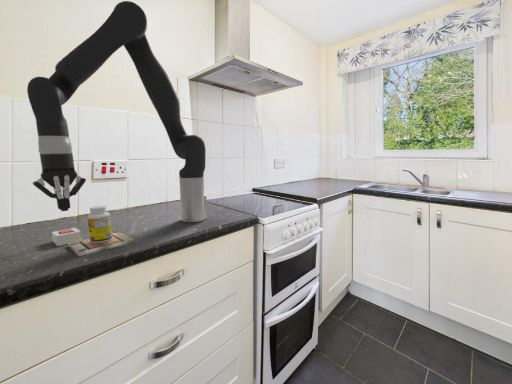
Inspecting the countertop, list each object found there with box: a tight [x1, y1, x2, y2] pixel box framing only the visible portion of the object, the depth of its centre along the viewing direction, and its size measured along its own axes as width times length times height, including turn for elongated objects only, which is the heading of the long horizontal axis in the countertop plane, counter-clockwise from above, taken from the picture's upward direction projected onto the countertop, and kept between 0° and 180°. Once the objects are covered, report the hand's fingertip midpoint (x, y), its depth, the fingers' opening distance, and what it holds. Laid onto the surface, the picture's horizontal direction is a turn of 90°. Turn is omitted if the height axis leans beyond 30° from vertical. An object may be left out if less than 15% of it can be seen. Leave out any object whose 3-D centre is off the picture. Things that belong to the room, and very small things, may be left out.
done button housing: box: [51, 227, 83, 247], centre depth 77 cm, size 6×6×3 cm
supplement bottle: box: [87, 205, 113, 244], centre depth 73 cm, size 6×6×10 cm
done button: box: [58, 228, 74, 234], centre depth 77 cm, size 3×3×2 cm
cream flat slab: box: [67, 232, 135, 257], centre depth 74 cm, size 14×11×1 cm
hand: (64, 210), depth 76 cm, fingers closed
